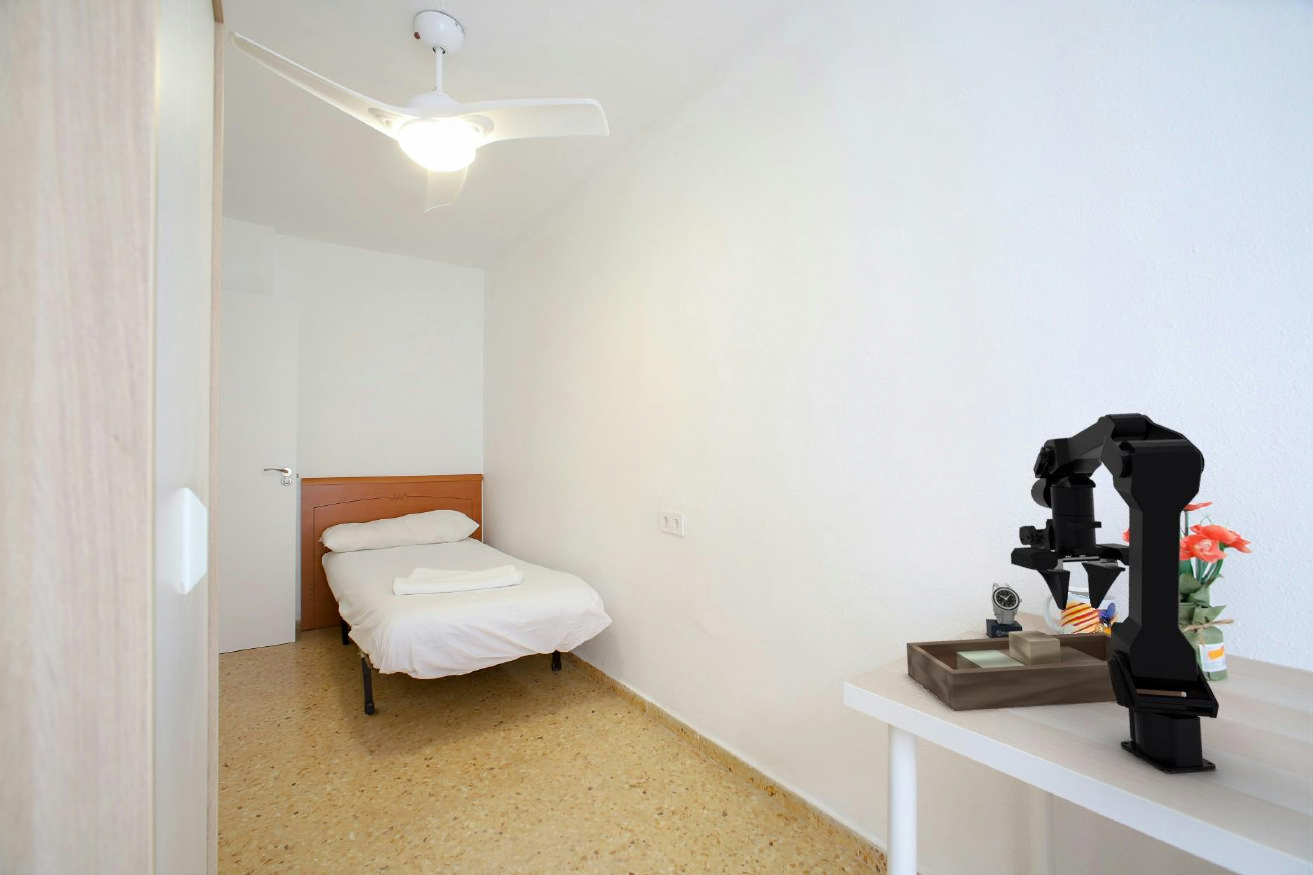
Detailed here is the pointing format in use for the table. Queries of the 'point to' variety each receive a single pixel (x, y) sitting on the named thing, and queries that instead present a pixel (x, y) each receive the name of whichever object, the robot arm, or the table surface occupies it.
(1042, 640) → the maple block
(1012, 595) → the watch
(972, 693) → the tray
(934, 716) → the table surface
